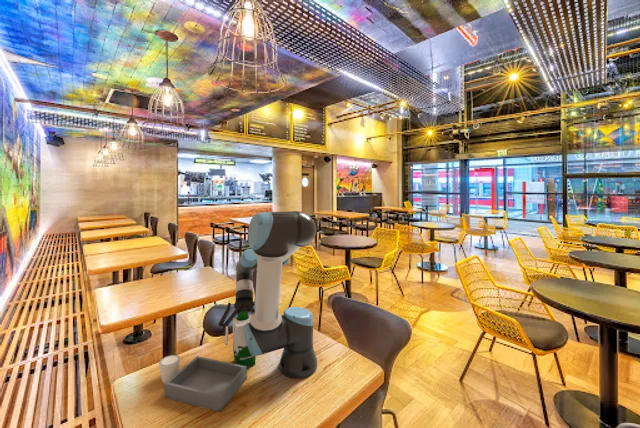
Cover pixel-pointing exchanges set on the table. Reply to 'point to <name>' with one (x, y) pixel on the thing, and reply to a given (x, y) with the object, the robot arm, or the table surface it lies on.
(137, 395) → the table surface
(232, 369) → the bin
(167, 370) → the white round container
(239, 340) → the soya milk
